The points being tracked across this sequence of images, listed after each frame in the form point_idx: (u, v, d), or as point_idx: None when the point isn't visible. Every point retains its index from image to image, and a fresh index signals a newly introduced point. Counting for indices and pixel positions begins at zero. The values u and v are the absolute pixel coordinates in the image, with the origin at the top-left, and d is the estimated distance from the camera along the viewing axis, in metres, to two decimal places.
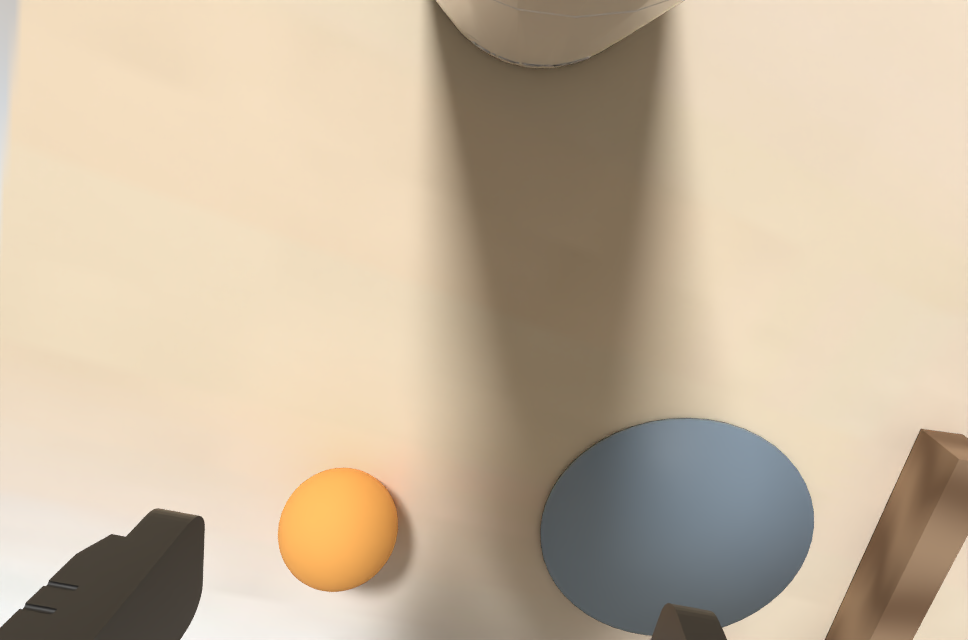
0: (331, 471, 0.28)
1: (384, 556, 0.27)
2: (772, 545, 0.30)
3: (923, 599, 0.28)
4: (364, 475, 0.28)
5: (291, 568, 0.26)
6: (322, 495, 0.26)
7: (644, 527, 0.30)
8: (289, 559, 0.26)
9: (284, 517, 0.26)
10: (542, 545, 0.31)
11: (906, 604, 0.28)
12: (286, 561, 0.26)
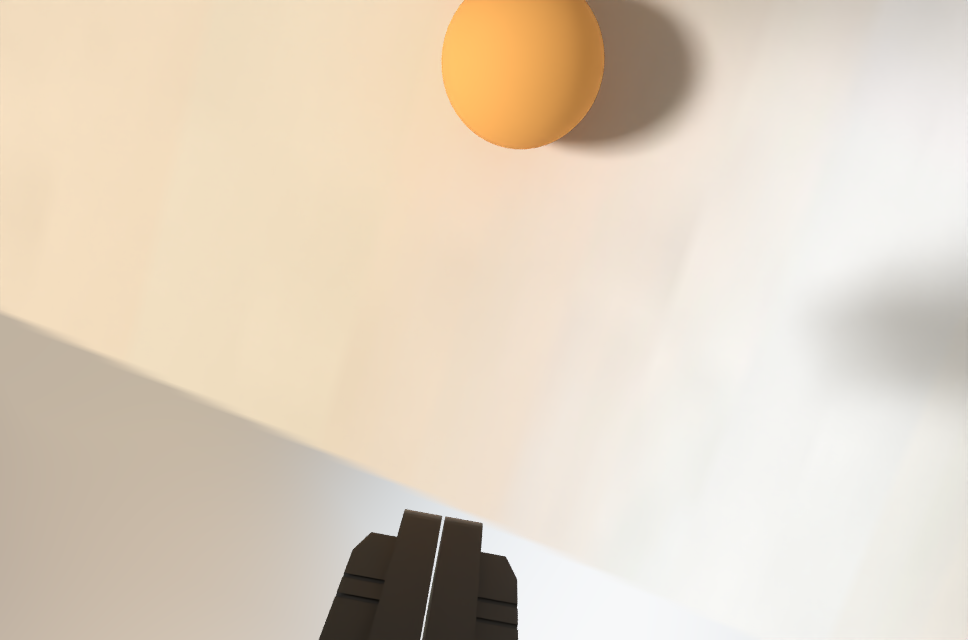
0: None
1: None
2: None
3: None
4: None
5: (532, 111, 0.18)
6: (444, 66, 0.19)
7: None
8: (515, 112, 0.18)
9: (474, 124, 0.19)
10: None
11: None
12: (525, 120, 0.19)
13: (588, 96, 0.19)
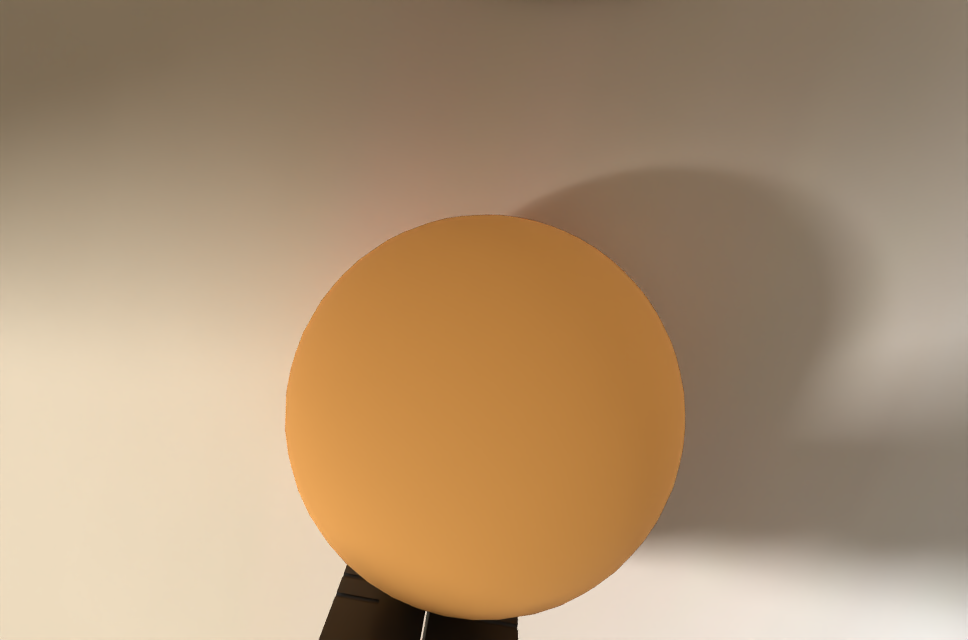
0: None
1: None
2: None
3: None
4: None
5: (586, 421, 0.06)
6: (297, 381, 0.07)
7: None
8: (536, 424, 0.06)
9: (393, 513, 0.06)
10: None
11: None
12: (567, 453, 0.06)
13: (684, 415, 0.07)
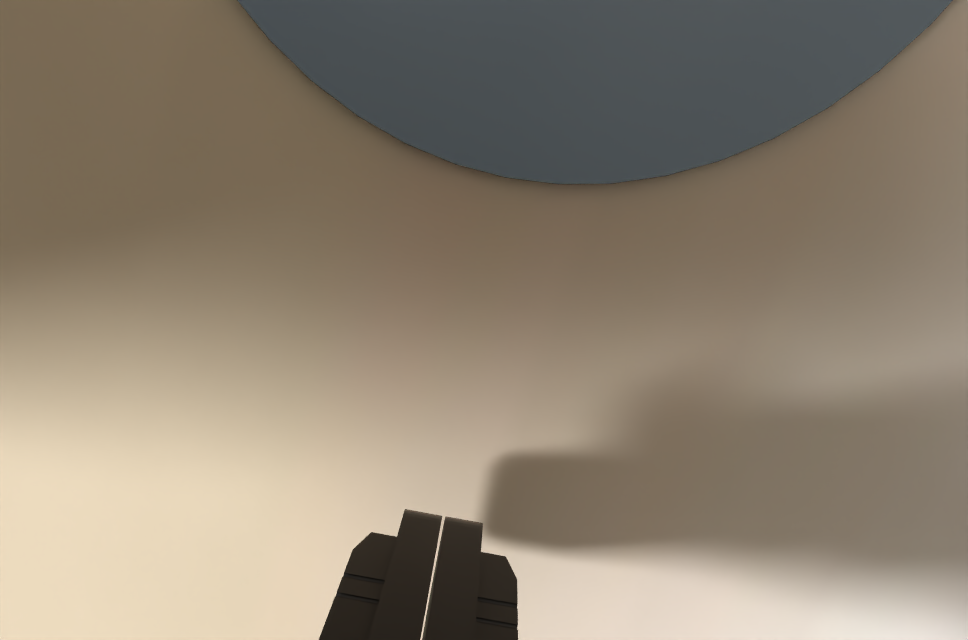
0: None
1: None
2: None
3: None
4: None
5: None
6: None
7: None
8: None
9: None
10: (606, 179, 0.10)
11: None
12: None
13: None
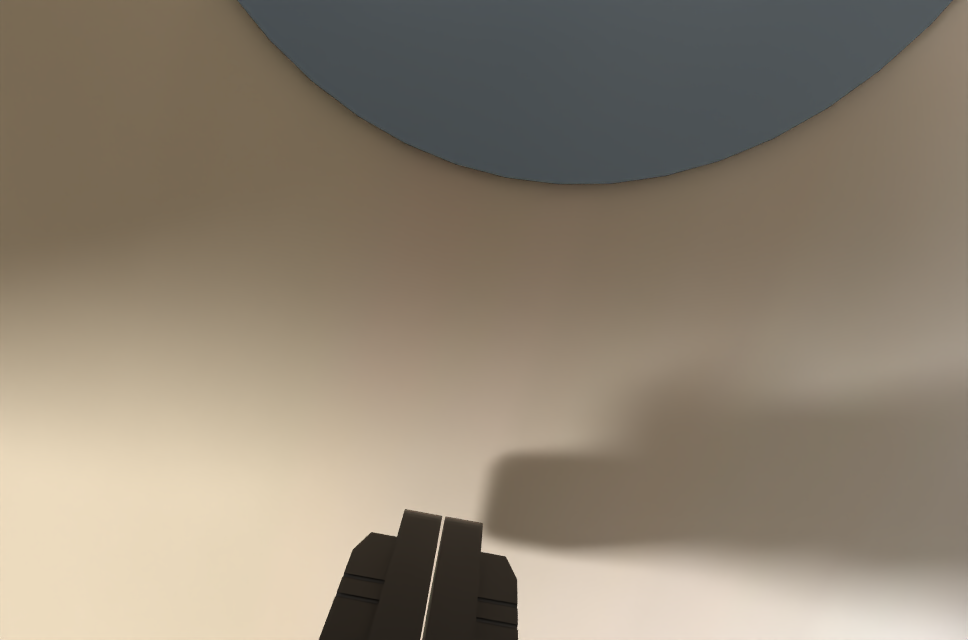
0: None
1: None
2: None
3: None
4: None
5: None
6: None
7: None
8: None
9: None
10: (606, 179, 0.10)
11: None
12: None
13: None
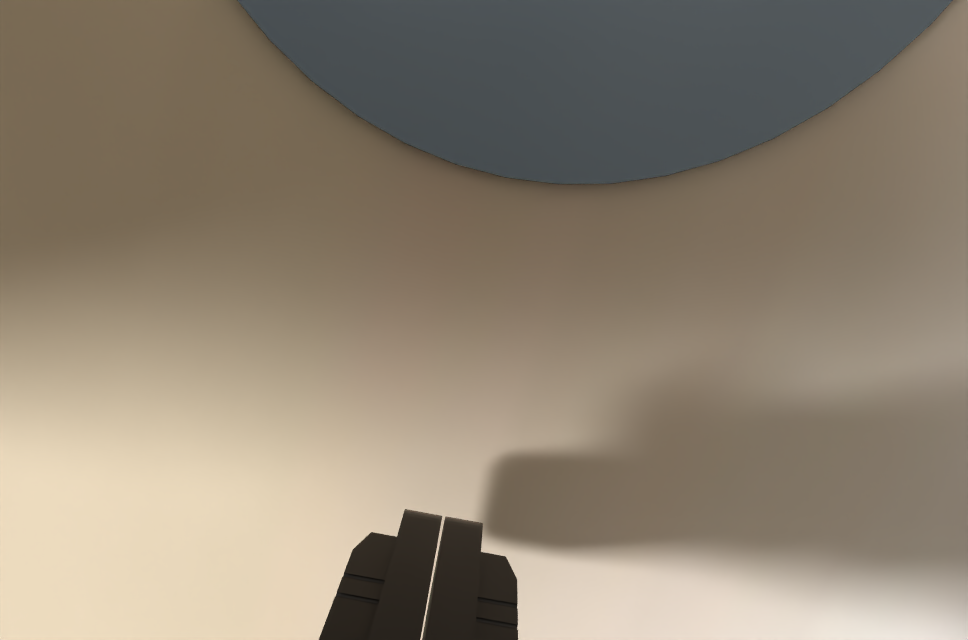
0: None
1: None
2: None
3: None
4: None
5: None
6: None
7: None
8: None
9: None
10: (606, 179, 0.10)
11: None
12: None
13: None
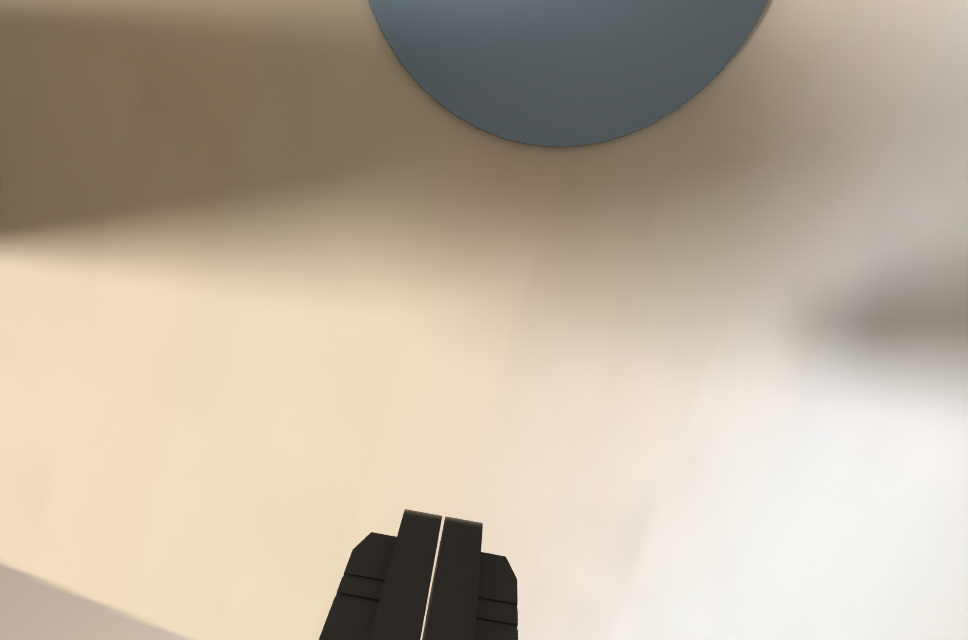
0: None
1: None
2: None
3: None
4: None
5: None
6: None
7: None
8: None
9: None
10: (574, 144, 0.20)
11: None
12: None
13: None
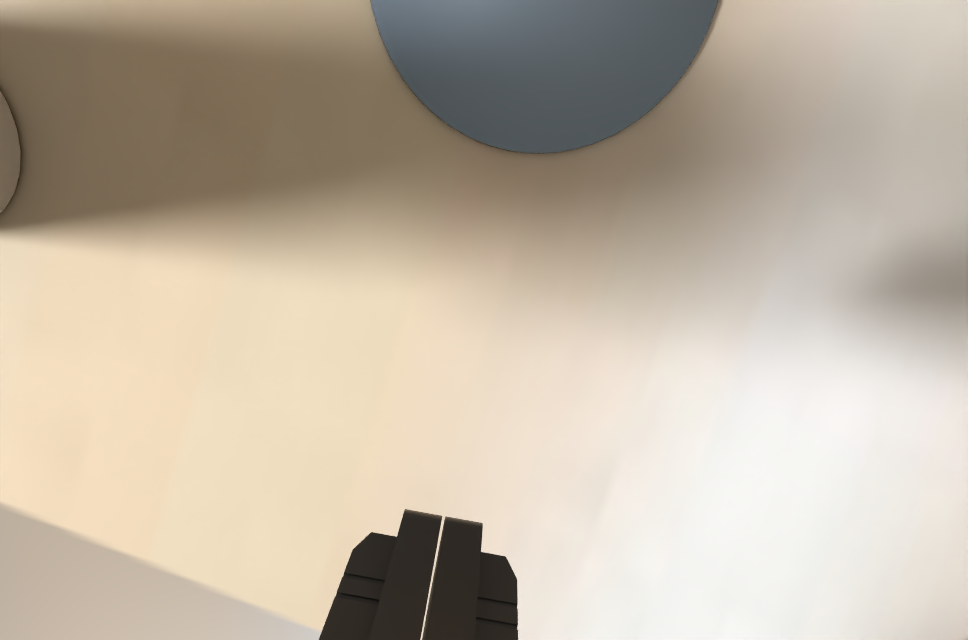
0: None
1: None
2: None
3: None
4: None
5: None
6: None
7: (526, 12, 0.23)
8: None
9: None
10: (548, 151, 0.25)
11: None
12: None
13: None
